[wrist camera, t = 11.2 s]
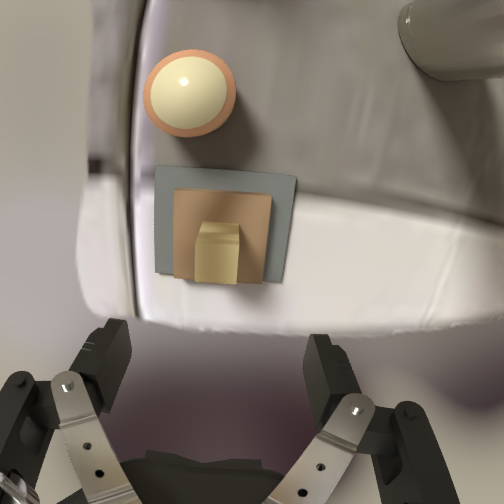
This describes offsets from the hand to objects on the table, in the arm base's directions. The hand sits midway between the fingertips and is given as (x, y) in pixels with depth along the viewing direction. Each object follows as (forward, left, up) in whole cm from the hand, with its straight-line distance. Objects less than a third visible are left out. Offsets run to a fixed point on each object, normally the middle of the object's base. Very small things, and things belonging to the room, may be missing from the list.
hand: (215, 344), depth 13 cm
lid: (0, +1, -15) cm, 15 cm away
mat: (0, 0, -16) cm, 16 cm away
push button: (+3, -11, -16) cm, 20 cm away
